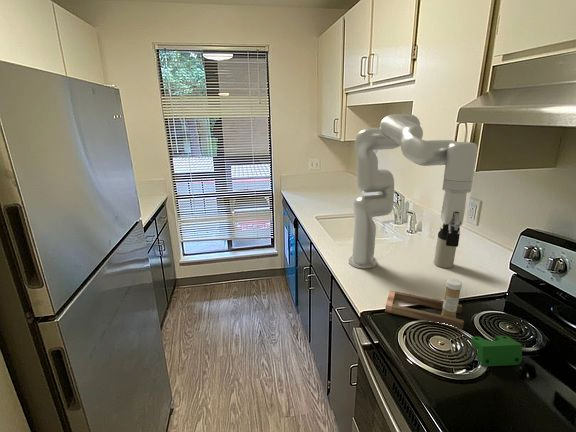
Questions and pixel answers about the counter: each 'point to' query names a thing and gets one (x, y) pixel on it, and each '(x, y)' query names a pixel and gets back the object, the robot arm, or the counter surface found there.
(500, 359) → the green toy brick
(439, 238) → the travel mug
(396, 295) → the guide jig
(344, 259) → the counter surface
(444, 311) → the sprinkles bottle
